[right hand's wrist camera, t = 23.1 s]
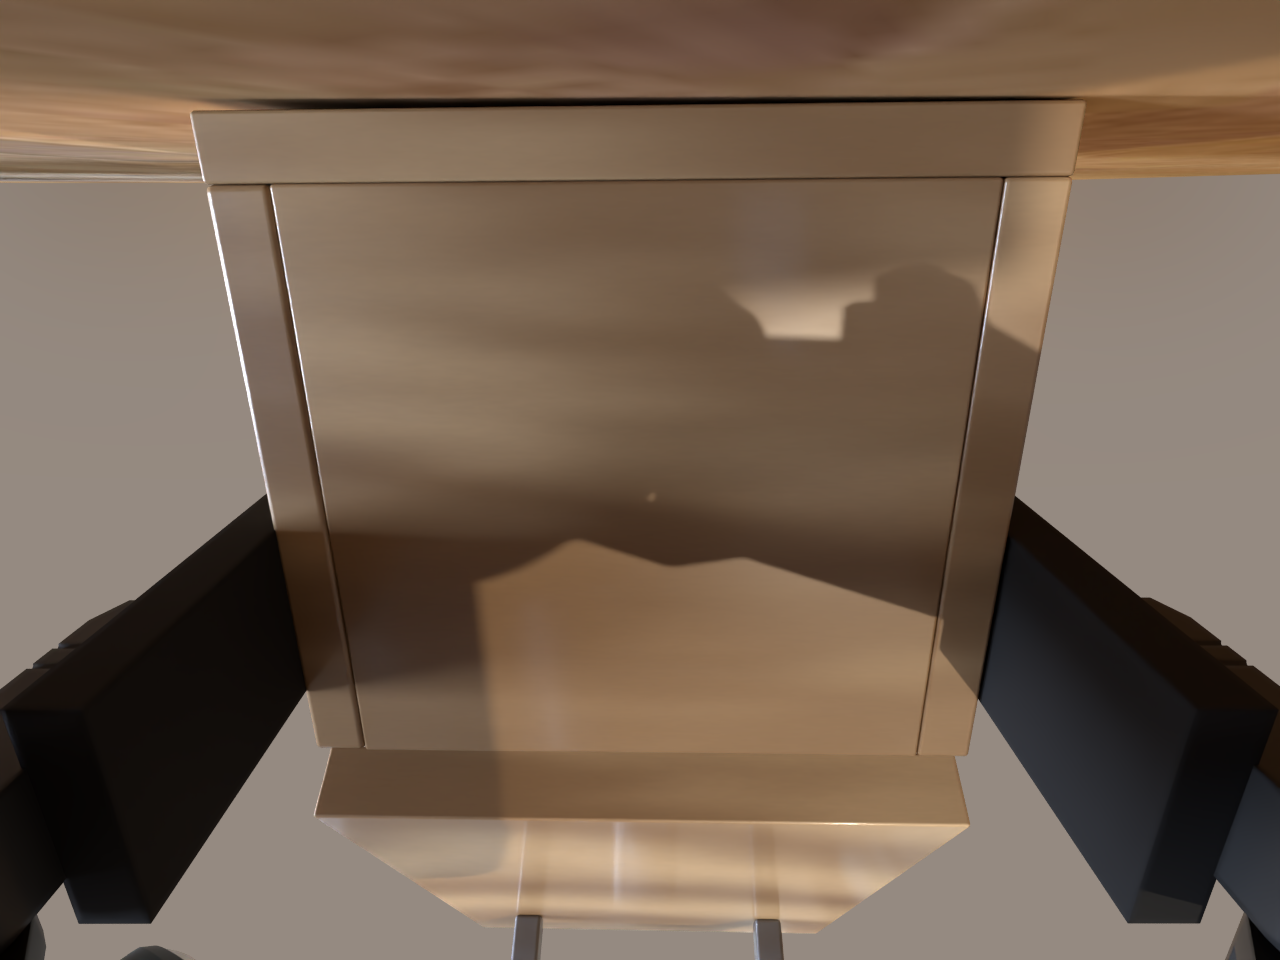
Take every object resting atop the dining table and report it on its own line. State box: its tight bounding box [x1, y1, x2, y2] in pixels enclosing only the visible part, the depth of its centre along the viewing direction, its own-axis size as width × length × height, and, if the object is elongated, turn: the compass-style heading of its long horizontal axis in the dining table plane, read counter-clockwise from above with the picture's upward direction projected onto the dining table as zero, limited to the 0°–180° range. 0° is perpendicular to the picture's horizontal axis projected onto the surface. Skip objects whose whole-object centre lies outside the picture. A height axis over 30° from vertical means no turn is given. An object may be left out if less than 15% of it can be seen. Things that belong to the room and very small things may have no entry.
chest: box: [190, 100, 1087, 756], centre depth 16 cm, size 13×10×9 cm
